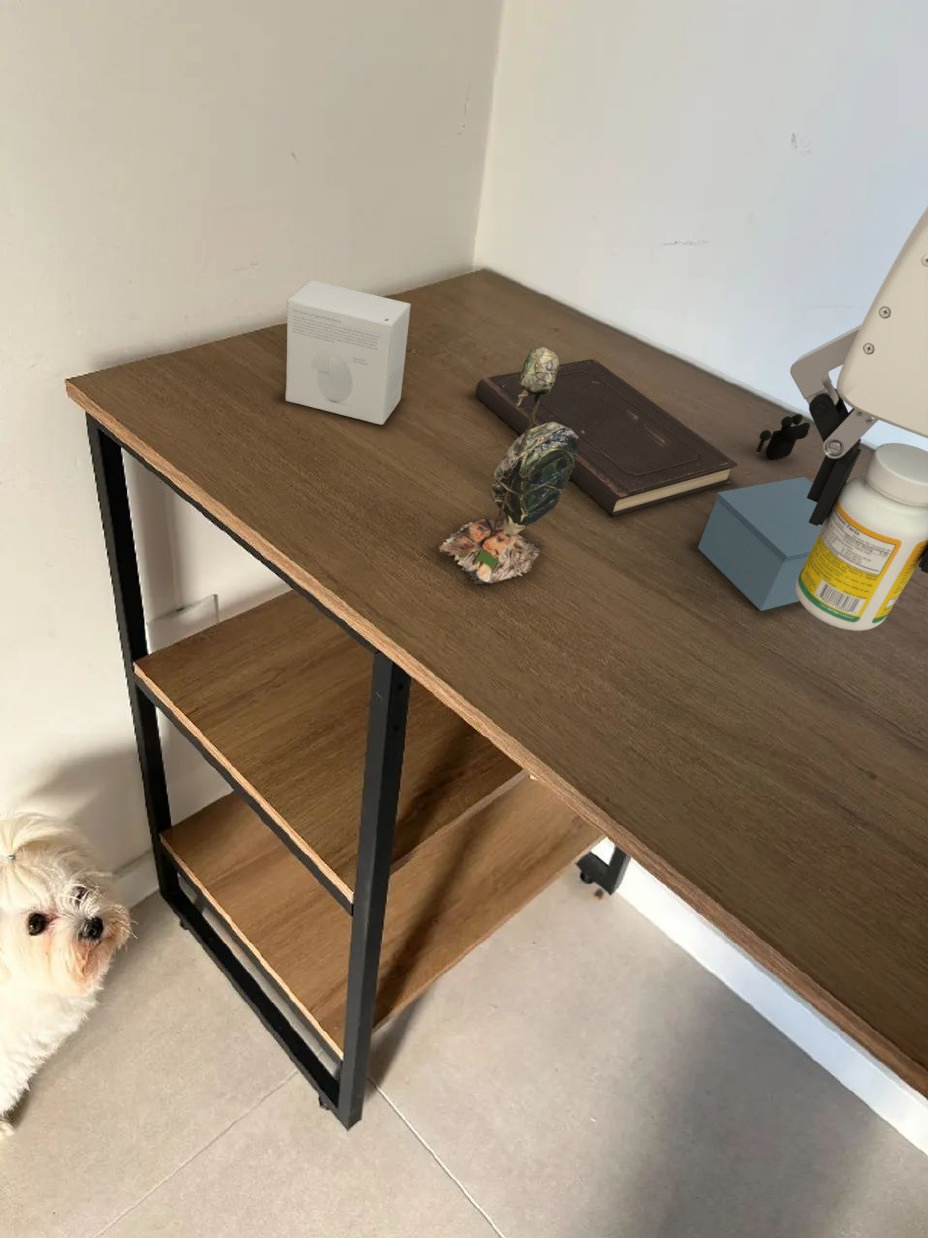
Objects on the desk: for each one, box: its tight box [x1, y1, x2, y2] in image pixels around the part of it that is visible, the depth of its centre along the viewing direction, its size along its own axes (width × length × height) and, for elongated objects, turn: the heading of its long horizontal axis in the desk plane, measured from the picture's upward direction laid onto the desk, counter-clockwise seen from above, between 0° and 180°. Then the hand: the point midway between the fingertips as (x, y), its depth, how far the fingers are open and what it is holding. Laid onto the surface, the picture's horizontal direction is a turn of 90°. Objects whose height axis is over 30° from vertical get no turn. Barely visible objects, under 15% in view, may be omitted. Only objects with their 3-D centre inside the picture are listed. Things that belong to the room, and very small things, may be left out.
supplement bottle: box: [796, 442, 928, 632], centre depth 51 cm, size 5×5×10 cm
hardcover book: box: [475, 358, 739, 517], centre depth 95 cm, size 16×23×2 cm
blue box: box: [697, 476, 826, 612], centre depth 81 cm, size 9×10×6 cm
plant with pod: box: [438, 346, 585, 586], centre depth 73 cm, size 8×11×20 cm
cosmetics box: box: [284, 279, 412, 426], centre depth 91 cm, size 10×6×10 cm, turn 76°
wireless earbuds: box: [756, 413, 811, 460], centre depth 97 cm, size 7×2×5 cm, turn 119°
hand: (875, 534), depth 51 cm, fingers closed on supplement bottle, 5 cm apart
